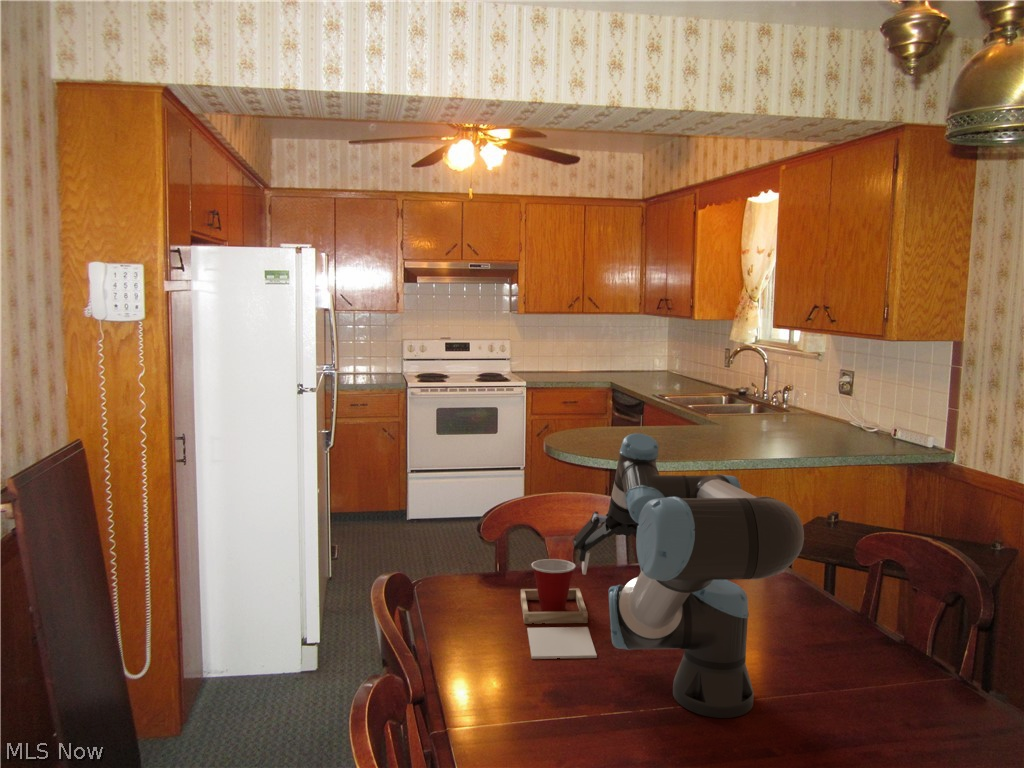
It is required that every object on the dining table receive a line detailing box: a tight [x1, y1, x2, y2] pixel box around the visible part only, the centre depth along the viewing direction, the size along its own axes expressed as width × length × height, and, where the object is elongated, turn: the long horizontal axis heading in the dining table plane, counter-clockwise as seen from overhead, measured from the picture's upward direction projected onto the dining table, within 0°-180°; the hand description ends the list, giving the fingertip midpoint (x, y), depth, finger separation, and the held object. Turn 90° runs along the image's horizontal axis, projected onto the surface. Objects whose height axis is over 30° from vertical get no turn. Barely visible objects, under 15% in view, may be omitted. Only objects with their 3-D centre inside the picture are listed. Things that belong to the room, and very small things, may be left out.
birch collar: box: [520, 587, 589, 625], centre depth 192 cm, size 15×15×2 cm
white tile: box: [526, 626, 598, 660], centre depth 174 cm, size 14×14×1 cm
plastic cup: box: [530, 558, 577, 612], centre depth 191 cm, size 11×11×12 cm
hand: (613, 571), depth 177 cm, fingers open, 13 cm apart
